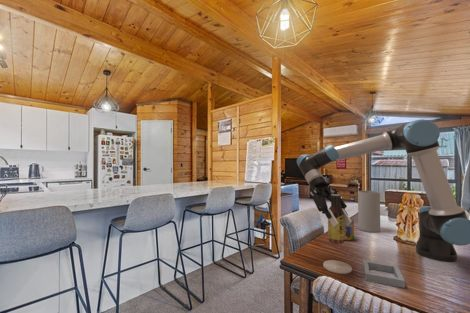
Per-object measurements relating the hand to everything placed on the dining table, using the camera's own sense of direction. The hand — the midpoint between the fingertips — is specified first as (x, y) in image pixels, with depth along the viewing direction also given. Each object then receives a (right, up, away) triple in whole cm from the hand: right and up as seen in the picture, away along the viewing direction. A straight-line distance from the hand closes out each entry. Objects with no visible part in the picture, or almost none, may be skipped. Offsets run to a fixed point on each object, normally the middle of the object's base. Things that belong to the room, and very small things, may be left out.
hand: (342, 224), depth 94 cm
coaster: (-1, -19, +3) cm, 19 cm away
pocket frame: (+13, -19, -4) cm, 24 cm away
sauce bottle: (-1, -9, +3) cm, 9 cm away
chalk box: (+20, -20, +41) cm, 50 cm away
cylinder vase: (+44, -21, +57) cm, 75 cm away
